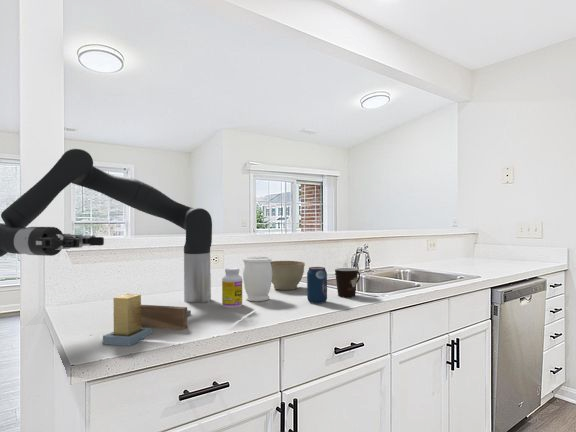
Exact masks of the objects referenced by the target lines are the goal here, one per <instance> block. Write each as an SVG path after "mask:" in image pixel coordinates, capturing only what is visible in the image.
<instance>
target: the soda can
mask: <svg viewBox="0 0 576 432" xmlns="http://www.w3.org/2000/svg"><path fill="white" fill-rule="evenodd" d="M306 285H307V286H306V289H307V290H306V293H307V294H306V295H307V297H306V298H307V301H308V302H309V303H310V304H313V305H315V304H316V305H318V304H319V305H322V304H326V302H327V300H328V273H327V270H326V267H323V266H311V267H308V271H307V272H306Z"/></svg>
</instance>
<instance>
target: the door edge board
mask: <svg viewBox="0 0 576 432" xmlns="http://www.w3.org/2000/svg"><path fill="white" fill-rule="evenodd" d="M187 310H188V306H174V305H171V306H170V305H158V304H157V305H153V304H141V328H153V329H154V328H155V329H169V330H182V331H183V330H185V329H188V316H187Z"/></svg>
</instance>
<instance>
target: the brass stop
mask: <svg viewBox="0 0 576 432" xmlns="http://www.w3.org/2000/svg"><path fill="white" fill-rule="evenodd" d="M141 305H142V295H141V294H139V293H138V294H134V293H126V294H121V295H118V296H115V297H113V332H114V335H115V336H127V337H130V336H132V335H134V334H136V333H138V332H141V328H142V327H141Z"/></svg>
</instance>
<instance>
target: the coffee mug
mask: <svg viewBox="0 0 576 432" xmlns="http://www.w3.org/2000/svg"><path fill="white" fill-rule="evenodd" d="M334 271H335V280H336V281H335V283H336V289H337V296H338V297H340V298H343V299H344V298H350V299H351V298H355V297H356V292H357V284H358V283H359V280H361V272H360V271H359V269H358V268H355V267H340V268H339V267H337V268H334Z"/></svg>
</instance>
